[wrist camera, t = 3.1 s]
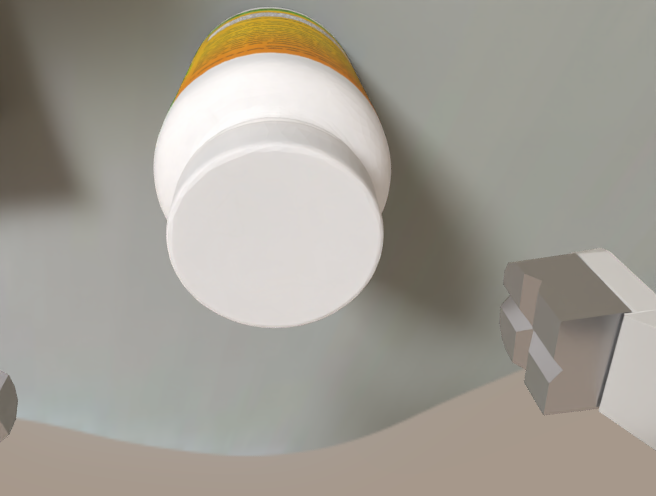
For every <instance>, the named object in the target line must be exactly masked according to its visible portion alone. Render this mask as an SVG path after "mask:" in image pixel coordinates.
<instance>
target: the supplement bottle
mask: <svg viewBox="0 0 656 496" xmlns="http://www.w3.org/2000/svg"><path fill="white" fill-rule="evenodd" d="M154 180H155V187H156V192H157V196H158V200H159V203H160V206H161V209H162V211H163V213H164V215H165V217H166V219H167V230H166V239H167V247H168V253H169V257H170V261H171V263H172V266H173V268H174V271H175V272H176V274H177V276H178V277H179V279H180V281H181V282H182V284H183V285H184V287H185V288H186V289H187V290H188V291H189V292H190V293H191V294H192V295H193V296H194V297H195V298H196V299H197V300H198V301H199V302H200V303H201V304H203V305H204V306H205V307H207V308H208V309H210V310H211V311H213V312H215V313H217V314H219V315H220V316H222V317H225V318H227V319H230V320H232V321H235V322H238V323H242V324H246V325H251V326H256V327H264V328H285V327H293V326H300V325H304V324H308V323H311V322H314V321H317V320H320V319H322V318H325V317H327V316H329V315H331V314H333V313H335V312H336V311H338V310H340V309H341V308H342V307H344V306H345V305H347V304H348V303H349V302H351V301H352V300H353V299H354V298H355V297H356V296H357V295H358V294H359V293H360V292H361V291H362V290H363V289H364V288H365V286H366V285H367V284H368V282H369V281H370V279H371V278H372V276H373V274H374V272H375V270H376V268H377V265H378V263H379V260H380V257H381V253H382V248H383V239H384V226H383V219H382V212H383V209H384V207H385V204H386V201H387V197H388V193H389V187H390V181H391V159H390V152H389V147H388V143H387V139H386V136H385V133H384V130H383V127H382V125H381V122H380V120H379V117H378V115H377V113H376V111H375V109H374V107H373V105H372V104H371V102H370V100H369V98H368V96H367V94H366V92H365V90H364V89H363V87H362V85H361V83H360V81H359V79H358V77H357V75H356V73H355V71H354V69H353V67H352V65H351V63H350V61H349V59H348V57H347V55H346V53H345V52H344V50H343V49H342V47H341V46H340V44H339V43H338V42H337V40H336V39H335V38H334V37H333V36H332V34H331V33H330V32H329V31H328V30H327V29H326V28H324V27H323V26H322V25H321V24H319V23H318V22H317V21H315V20H313V19H312V18H310V17H308V16H306V15H304V14H302V13H299V12H296V11H293V10H290V9H284V8H277V7H262V8H254V9H249V10H246V11H243V12H240V13H238V14H235V15H233V16H231V17H230V18H228V19H226V20H225V21H223V22H222V23H221V24H219V25H218V26H217V27H216V28H215V29H214V30H213V31H211V32H210V34H209V35H208V36H207V37H206V38H205V40H204V41H203V43H202V44H201V46H200V47H199V49H198V51H197V53H196V54H195V56H194V58H193V60H192V62H191V65H190V67H189V69H188V71H187V74H186V76H185V78H184V80H183V82H182V84H181V87H180V89H179V91H178V93H177V95H176V97H175V99H174V101H173V103H172V105H171V107H170V109H169V111H168V113H167V115H166V118H165V120H164V123H163V125H162V128H161V130H160V133H159V136H158V140H157V144H156V148H155V154H154Z"/></svg>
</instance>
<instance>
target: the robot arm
mask: <svg viewBox="0 0 656 496" xmlns="http://www.w3.org/2000/svg"><path fill="white" fill-rule="evenodd" d="M503 285H504V287H505V288H506V290H507V291H508V293H509V294H510V296H509V297H508V298H507V299H506V300H505V302H504V303H503V304H502V305H501V306H500V320H499V324H500V330H501V337H502V341H503V344H504V346H505V349H506V351H507V353H508V355H509V357H510V359H511V360H512V362H513V363H515V364H516V365H518V366H520V367H522V368H524V369H525V370H526V374H525V381H524V382H525V385H526V386H527V388H528V390H529V392H530V393H531V395H532V396H533V398H534V400H535V402H536V403H537V405H538V407H539V408H540V410H541V412H542V413H543V415H550V414H557V413H566V412H574V411H582V410H590V409H598V408H599V412H600V413H602V414H603V415H605V416H606V417H608V418H609V419H611V420H612V421H613V422H615V423H616V424H618V425H619V426H621V427H622V428H624V429H625V430H626V431H628V432H629V433H631V434H632V435H634V436H635V437H637V438H638V439H640V440H641V441H642V442H644V443H645V444H647V445H648V446H650V447H651V448H653V449H654V450H656V294H655V293H654V292H653V291H652V290H651V289H650V288H649V287H648V286H646V285H645V284H644V283H643V282H642V281H641V280H640V279H639V278H638V277H637V276H636V275H635V274H634V273H632V272H631V271H630V270H629V269H628V268H627V267H626V266H625V265H624V264H623V263H622V262H621V261H620V260H618V259H617V258H616V257H615V256H614V255H613V254H612V253H611V252H610V251H608V250H606V249H603V248H596V249H590V250H584V251H578V252H572V253H569V254H565V255H558V256H551V257H544V258H537V259H530V260H523V261H516V262H509V263H508V264H507V267H506V269H505V271H504V279H503ZM17 404H18V399H17V394H16V390H15V386H14V384H13V382H12V380H11V378H10V376H9V375H8V374H6V373H5V372H3V371H1V370H0V442H1V441H2V440H4V439H5V438H6V437H7V436H8V435H9V434H10V431H11V429H12V427H13V425H14V422H15V420H16V414H17Z"/></svg>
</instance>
